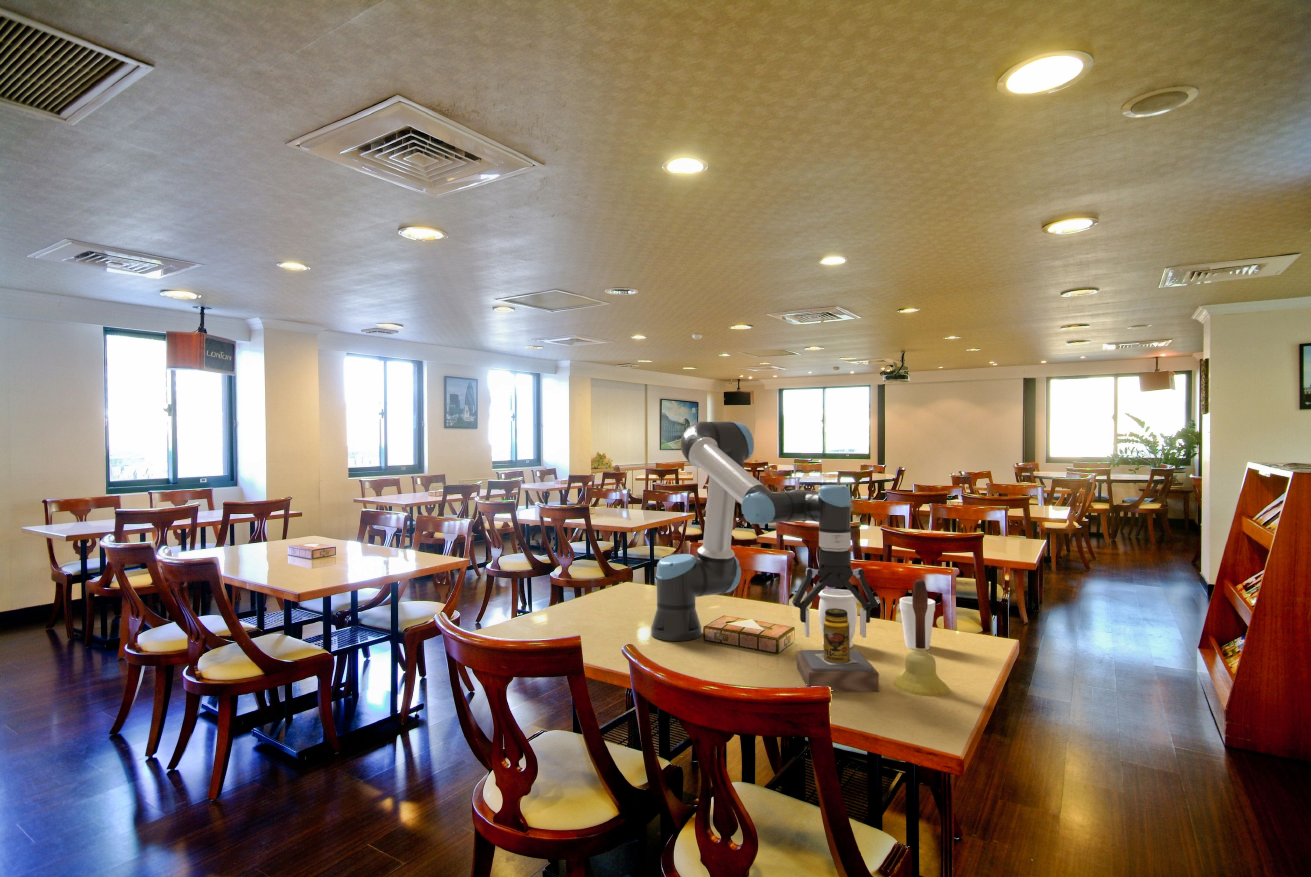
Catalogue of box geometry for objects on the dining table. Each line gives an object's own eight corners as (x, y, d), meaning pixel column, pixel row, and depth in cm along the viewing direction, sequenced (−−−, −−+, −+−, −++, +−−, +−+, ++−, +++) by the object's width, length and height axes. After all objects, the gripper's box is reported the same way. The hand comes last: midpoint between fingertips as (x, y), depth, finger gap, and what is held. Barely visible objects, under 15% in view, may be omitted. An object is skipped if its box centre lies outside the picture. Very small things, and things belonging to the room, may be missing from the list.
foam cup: (925, 653, 183) (924, 606, 183) (893, 646, 190) (893, 600, 190) (941, 646, 189) (941, 600, 189) (910, 639, 196) (910, 595, 196)
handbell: (950, 698, 151) (949, 587, 151) (892, 692, 155) (891, 583, 156) (947, 680, 163) (946, 577, 163) (893, 674, 167) (892, 573, 167)
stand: (808, 691, 156) (808, 669, 156) (796, 668, 172) (796, 648, 172) (878, 691, 156) (878, 670, 156) (860, 668, 172) (860, 648, 172)
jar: (853, 640, 196) (853, 588, 196) (860, 651, 186) (860, 596, 186) (816, 639, 197) (815, 588, 197) (821, 650, 187) (821, 596, 187)
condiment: (830, 665, 159) (830, 614, 159) (813, 654, 167) (813, 606, 167) (858, 663, 161) (857, 612, 161) (840, 652, 169) (840, 604, 169)
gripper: (785, 550, 161) (785, 639, 161) (891, 551, 160) (891, 640, 160) (780, 545, 168) (781, 630, 168) (881, 546, 167) (882, 631, 167)
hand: (834, 635), depth 164 cm, fingers open, 13 cm apart
